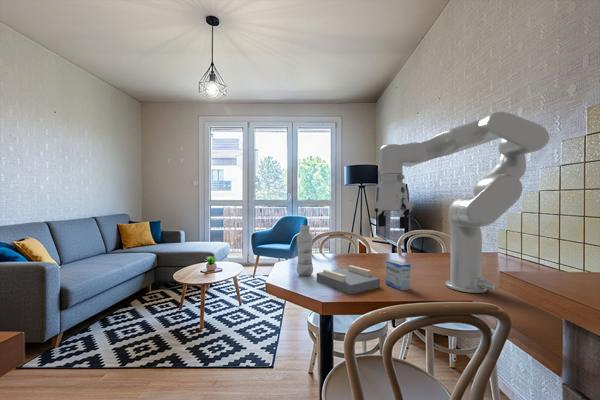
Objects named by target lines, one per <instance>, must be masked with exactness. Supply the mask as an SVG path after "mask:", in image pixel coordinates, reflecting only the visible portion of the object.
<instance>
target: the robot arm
mask: <svg viewBox="0 0 600 400" xmlns="http://www.w3.org/2000/svg"><path fill="white" fill-rule="evenodd" d="M497 139H499V140H500V141H499V142H498V152H499V160H498V162H497V164H496V165H495V166H494V167H492V169H491V170H490V171H489V172H487V173H486V175H484V176H483V177H482V178H481V179H480V180H478V182H477V183H476V184H475V186H474V188H473V191H472V192H473V196H474V197H471V196H470V197H460V198H457V199H455V200H453V201H452V202H451V203H450V205H449V207H448V223H449V228H450V262H449V265H450V267H449V270H450V273H449V274H450V275H449V276H450V277H449V278H450V279H448V280H446V281H445V286H446V287H447V288H449V289H451V290H453V291H454V290H455V291H459V292H464V293H470V294H471V293H472V294H483V293H486V292H487V291H488V290H495V288H496V285H495V283H494V282H492V281H487V280H486V279H485V278H486V277H485V276H484V275H483V273H482V269H483V268H482V264H483V261H482V260H483V259H482V258H483V257H482V256H483V237H482V235H483V234H482V230H481V227H482V228H483V227H487V226H490V225H492V224H493V223H495V222H496V221H497V220H499V218H501V217H502V215H504V214H505V213H506V212H507V211H508V210H509V209H511V207H512V206H513V205H515V203H517V202H518V201H519V200H520V198H521V196H522V193H523V183H522V181H521V179H522V177H524V175H525V173H526V171H527V160H526V159H527V158H526V155H527V154H531V153H535V152H537V151H541V150H542V149H544V148H545V147H546V146H547V145H548V143H549V140H550V134H549V132H548V130H547V129H546V128H545V127H544V126H542V125H541V124H539V123H536V122H534V121H531V120H528V119H526V118H523V117H521V116H519V115H516V114H513V113H509V112H505V111H494V112H492V113H490V114H488V115H485V116H484V117H482V118H480V119H477V120H473V121H471V122H468V123H465V124H463V125H459V126H456V127H453V128H450V129H447V130H445V131H443V132H441V133H439V134H436V135H435V136H433V137H431V138H429V139H427V140H424V141H421V142H417V141H416V142H409V143H408V142H407V143H403V144H402V143H401V144H398V143H397V144H396V143H392V144H391V143H390V144H389V143H388V144H385V145H382V146H381V147H380V150H379V151H380V152H379V154H380V158H379V159H380V183H379V186H378V187H379V188H378V200H377V201H375V202H374V203H373V204H372V205H373V209H374V212H375V213H376V216H378V217H377V221H378V225H377V226H378V228H379V227H380V228H381V227H382V228H383V227H386V225H387V224H386V223H387V222H386V220H387V219H386V218H387V217H386V215H385V214H386V212H398V213H399V215H400V216H399V229H404V230H405V229H407V228H408V217H409V216H410V214H411V213H412V210H413V208H414V203H412V202H411V201H409V199H408V190H407V186H406V183H405V182H404V180H405V175H403V169H404V168H403V167H407V168H408V167H409V168H410V167H414V166H417V165H419V164H422V163H425V162H428V161H431V160H434V159H437V158H442V157H447V156H450V155H452V154H453V155H454V154H456V153H459V152H462V151H464V150H468V149H472V148H474V147H477V146H480V145H482V144H483V145H484V144H487V143H489V142H492V141H494V140H497Z"/></svg>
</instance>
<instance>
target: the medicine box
mask: <svg viewBox="0 0 600 400" xmlns="http://www.w3.org/2000/svg"><path fill="white" fill-rule="evenodd" d="M411 266H412V265H411V264H410V263H406V262H402V261H399V260H395V259H394V260H393V259H391V260H385V285H386V286H389V287H392V288H394V289H396V290H399V291H405V290H406V291H407V290H410V289H411V277H412V275H411V271H412V270H411V269H412V268H411Z"/></svg>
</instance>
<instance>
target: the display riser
mask: <svg viewBox="0 0 600 400" xmlns="http://www.w3.org/2000/svg"><path fill="white" fill-rule="evenodd" d="M380 280H381V279H380V278H378V277H376V276H372V270H371V269H366V268H362V267H359V266H356V265H352V264H351V265H348V268H339V269H338V268H337V269H332V270H330V269H327V268H326V269H323V271H321V272H316V282H318V283H320V284H323V285H326V286H328V287H329V288H330V287H331V288H333V289H335V290H336V289H337V290H338V291H341V292H344V293H347V294H349V295H353V294H359V293H361V292H366V291H369V290H370V291H371V290H374V289H378V288H380V284H381V281H380Z"/></svg>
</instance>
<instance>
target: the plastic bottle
mask: <svg viewBox="0 0 600 400" xmlns="http://www.w3.org/2000/svg"><path fill="white" fill-rule="evenodd" d="M310 228H311V226H310V225H303V224H302V225H300V228H299V229H300V232H299V233H298V235H297V236H296V245H297V246H296V247H297V264H296V273H297V275H298V276H302V277H307V276H308V277H309V276H312V275H313V272H314V265H313V259H312V258H313V257H312V251H313V242H314V239H313V236H312V234H311V232H310V230H311V229H310Z"/></svg>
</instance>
